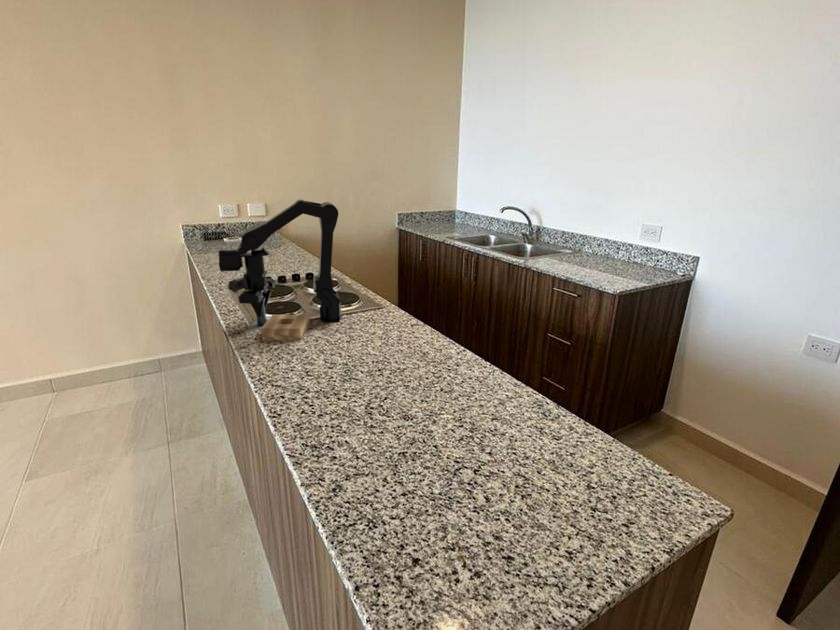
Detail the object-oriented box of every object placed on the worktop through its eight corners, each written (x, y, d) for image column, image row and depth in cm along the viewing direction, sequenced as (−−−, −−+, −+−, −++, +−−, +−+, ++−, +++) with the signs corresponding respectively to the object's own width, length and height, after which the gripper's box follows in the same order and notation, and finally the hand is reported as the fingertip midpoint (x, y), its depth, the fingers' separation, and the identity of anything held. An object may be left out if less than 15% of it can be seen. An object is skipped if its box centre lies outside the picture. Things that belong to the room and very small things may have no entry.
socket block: (309, 326, 154) (309, 314, 153) (301, 340, 143) (300, 328, 142) (274, 325, 154) (272, 314, 153) (262, 340, 143) (261, 328, 142)
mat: (276, 321, 158) (276, 320, 158) (268, 330, 151) (268, 329, 151) (255, 321, 158) (255, 320, 158) (247, 330, 151) (247, 329, 151)
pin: (267, 323, 156) (264, 295, 152) (265, 326, 153) (261, 297, 149) (259, 323, 156) (255, 294, 152) (256, 326, 153) (252, 297, 149)
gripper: (240, 261, 156) (246, 305, 162) (218, 277, 139) (225, 325, 144) (273, 262, 156) (278, 305, 162) (255, 277, 139) (261, 325, 144)
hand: (260, 315), depth 153 cm, fingers closed on pin, 3 cm apart
